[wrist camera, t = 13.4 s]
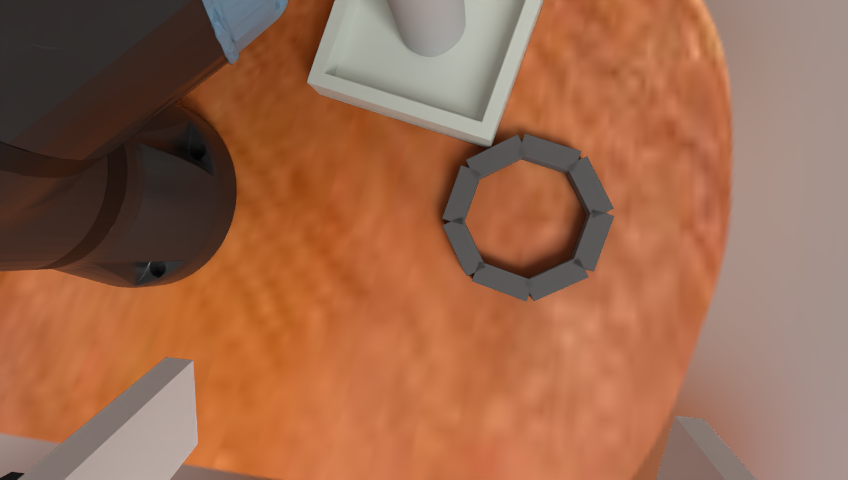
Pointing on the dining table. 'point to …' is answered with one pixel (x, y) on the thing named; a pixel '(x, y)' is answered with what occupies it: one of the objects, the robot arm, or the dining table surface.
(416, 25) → the beverage can
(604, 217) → the seat ring
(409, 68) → the tray
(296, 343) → the dining table surface
